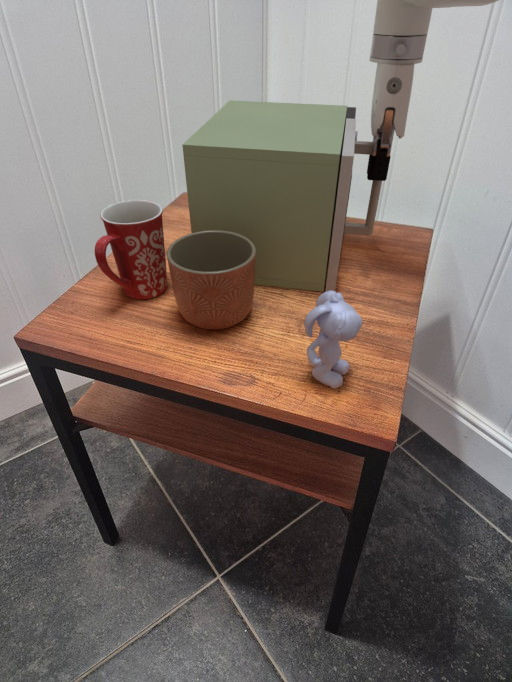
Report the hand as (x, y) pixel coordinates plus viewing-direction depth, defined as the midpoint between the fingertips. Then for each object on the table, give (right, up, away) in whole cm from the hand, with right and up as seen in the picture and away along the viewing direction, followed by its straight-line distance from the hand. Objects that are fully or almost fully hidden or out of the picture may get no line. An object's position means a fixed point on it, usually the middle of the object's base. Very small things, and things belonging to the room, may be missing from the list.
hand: (376, 176), depth 75 cm
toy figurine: (-11, -33, -17) cm, 39 cm away
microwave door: (-4, -14, +4) cm, 15 cm away
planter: (-27, -24, -7) cm, 37 cm away
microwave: (-16, -10, +9) cm, 21 cm away
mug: (-40, -20, -3) cm, 45 cm away
